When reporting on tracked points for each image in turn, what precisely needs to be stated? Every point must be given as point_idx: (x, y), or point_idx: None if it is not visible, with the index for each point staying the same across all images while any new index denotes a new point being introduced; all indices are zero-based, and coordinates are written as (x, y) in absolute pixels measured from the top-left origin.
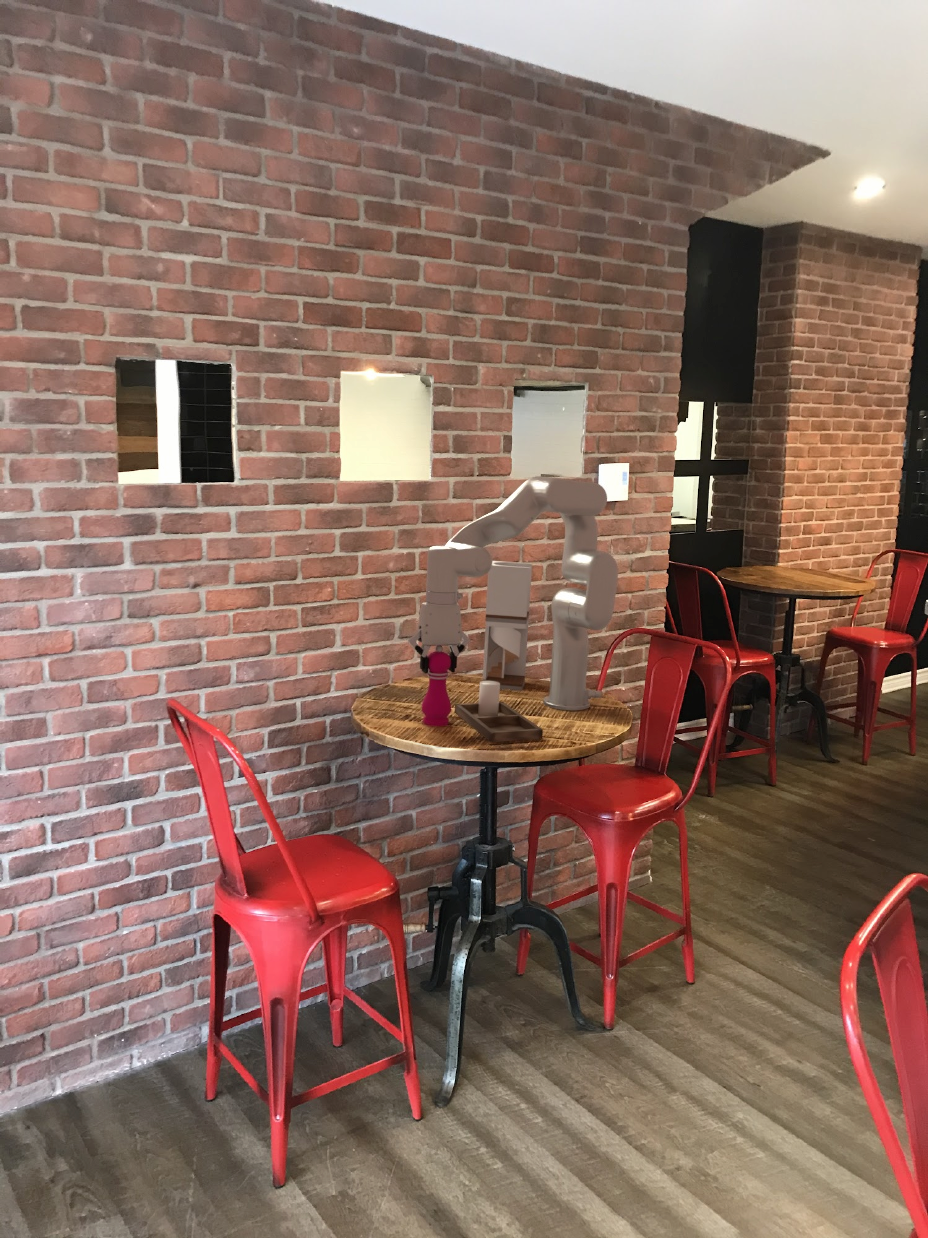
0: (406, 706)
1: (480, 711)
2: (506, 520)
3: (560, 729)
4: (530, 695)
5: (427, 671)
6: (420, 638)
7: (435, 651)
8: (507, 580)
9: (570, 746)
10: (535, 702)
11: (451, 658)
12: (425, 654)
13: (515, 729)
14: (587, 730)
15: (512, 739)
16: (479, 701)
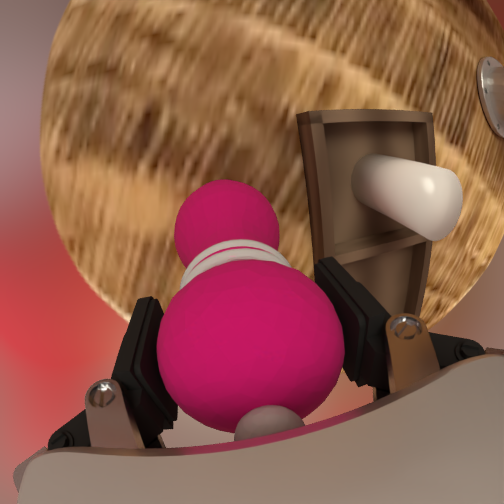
0: (161, 25)
1: (364, 196)
2: None
3: (458, 239)
4: (461, 20)
5: None
6: (41, 470)
7: (233, 408)
8: None
9: (426, 323)
10: (467, 61)
11: (348, 359)
12: (151, 438)
13: (395, 269)
14: (479, 244)
15: None
16: (378, 193)
